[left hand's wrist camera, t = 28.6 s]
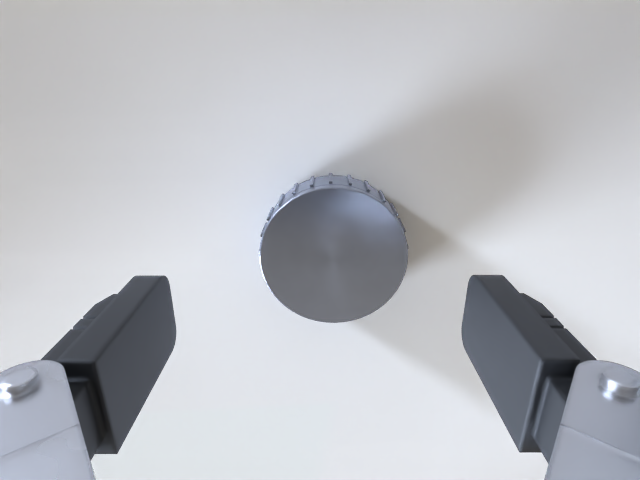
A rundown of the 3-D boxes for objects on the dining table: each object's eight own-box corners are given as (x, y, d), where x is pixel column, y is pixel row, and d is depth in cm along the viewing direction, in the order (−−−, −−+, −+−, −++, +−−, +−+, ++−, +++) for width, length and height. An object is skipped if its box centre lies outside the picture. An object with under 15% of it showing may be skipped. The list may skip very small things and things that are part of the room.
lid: (244, 195, 14) (234, 210, 13) (383, 154, 14) (391, 164, 12) (289, 313, 16) (285, 338, 15) (415, 281, 15) (424, 305, 14)
